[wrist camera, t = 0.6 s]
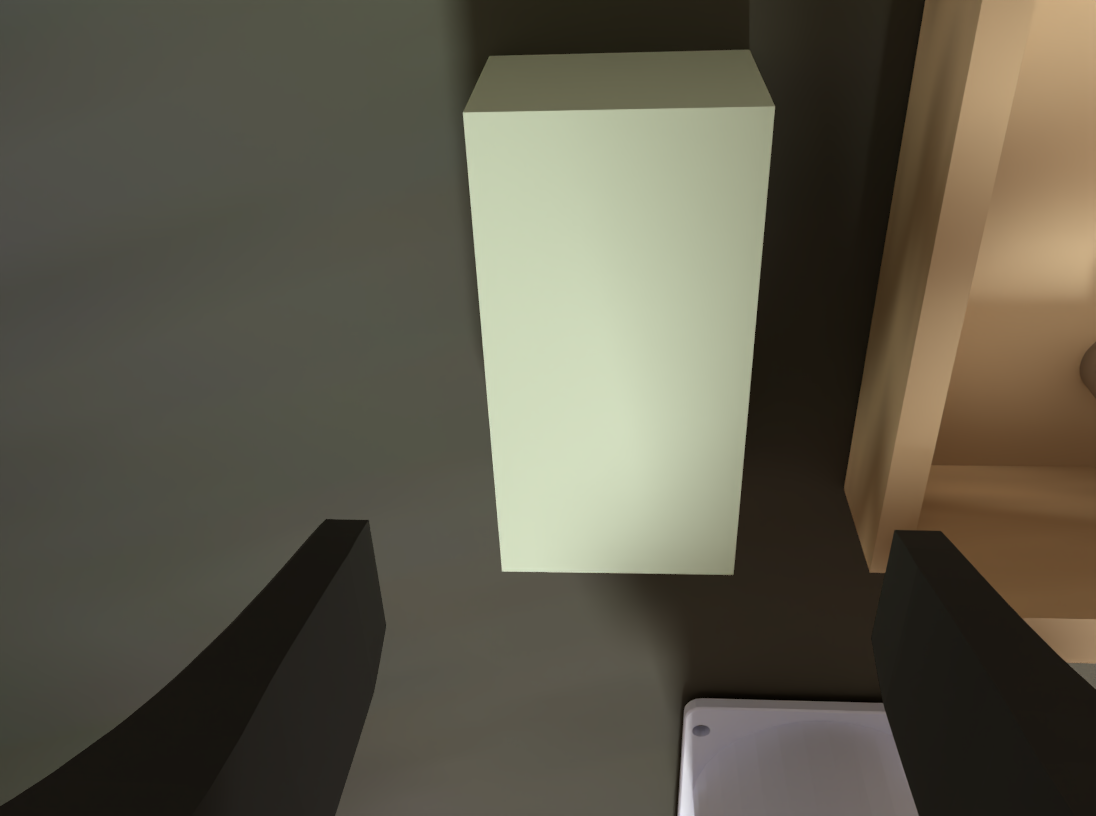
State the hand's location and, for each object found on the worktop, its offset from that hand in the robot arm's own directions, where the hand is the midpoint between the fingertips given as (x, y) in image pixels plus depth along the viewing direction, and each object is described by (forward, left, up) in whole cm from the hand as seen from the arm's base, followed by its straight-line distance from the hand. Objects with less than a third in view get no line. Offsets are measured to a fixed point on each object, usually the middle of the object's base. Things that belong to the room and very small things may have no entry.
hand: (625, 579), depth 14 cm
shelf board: (0, 0, -10) cm, 10 cm away
